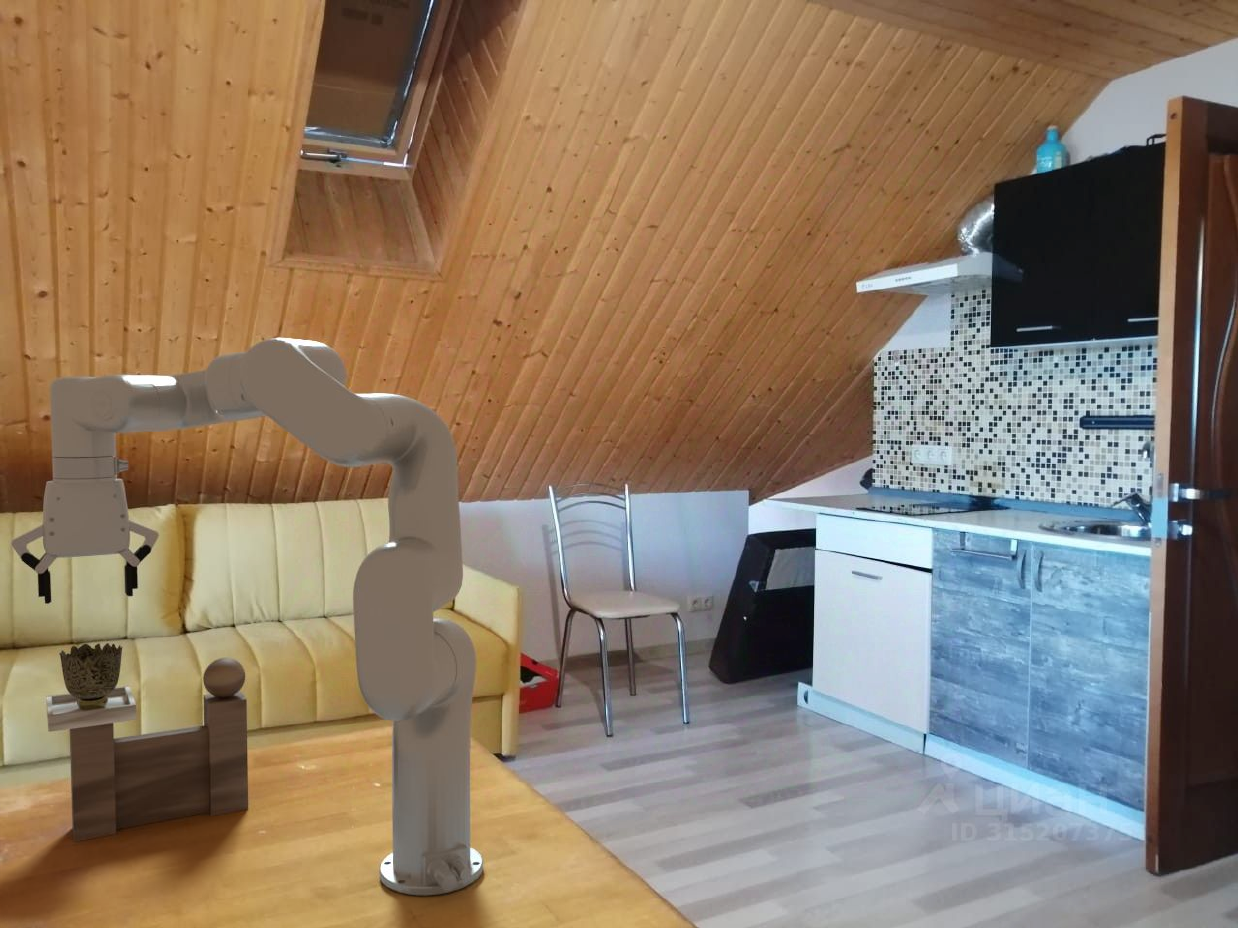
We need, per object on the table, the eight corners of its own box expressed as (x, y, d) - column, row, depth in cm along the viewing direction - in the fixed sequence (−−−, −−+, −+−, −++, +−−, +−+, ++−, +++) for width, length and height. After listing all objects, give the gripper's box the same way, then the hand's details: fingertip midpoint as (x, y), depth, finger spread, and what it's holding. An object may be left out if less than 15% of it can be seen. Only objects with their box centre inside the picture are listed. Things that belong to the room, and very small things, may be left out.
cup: (98, 717, 133) (96, 656, 132) (48, 714, 134) (46, 653, 134) (135, 701, 140) (134, 643, 139) (87, 698, 141) (86, 641, 141)
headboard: (254, 814, 144) (251, 664, 142) (52, 853, 131) (47, 688, 130) (240, 790, 153) (238, 648, 151) (50, 824, 140) (45, 669, 139)
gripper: (153, 466, 142) (156, 587, 144) (9, 470, 134) (14, 599, 135) (159, 469, 136) (163, 596, 137) (8, 474, 127) (13, 610, 128)
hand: (89, 598), depth 136 cm, fingers open, 9 cm apart
